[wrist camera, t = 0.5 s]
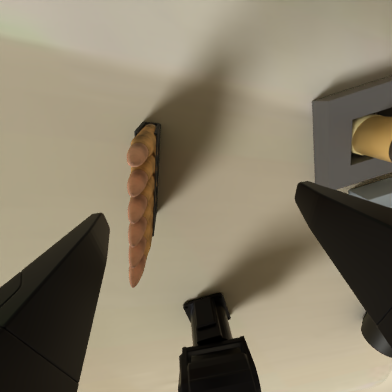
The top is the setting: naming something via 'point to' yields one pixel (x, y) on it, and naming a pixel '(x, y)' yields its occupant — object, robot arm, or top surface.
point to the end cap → (375, 336)
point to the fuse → (372, 137)
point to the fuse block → (347, 134)
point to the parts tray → (376, 192)
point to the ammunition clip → (142, 195)
